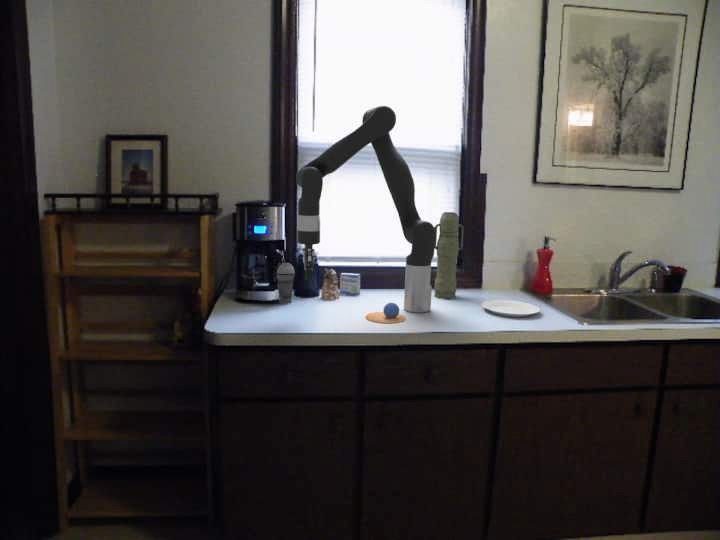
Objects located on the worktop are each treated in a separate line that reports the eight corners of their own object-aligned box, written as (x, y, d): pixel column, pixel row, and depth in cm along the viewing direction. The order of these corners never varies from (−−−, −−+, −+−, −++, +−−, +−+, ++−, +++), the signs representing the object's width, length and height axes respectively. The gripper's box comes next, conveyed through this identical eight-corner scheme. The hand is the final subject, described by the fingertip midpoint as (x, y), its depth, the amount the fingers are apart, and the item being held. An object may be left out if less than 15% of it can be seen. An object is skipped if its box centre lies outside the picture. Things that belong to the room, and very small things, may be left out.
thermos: (428, 294, 215) (432, 211, 208) (455, 294, 216) (460, 212, 210) (433, 299, 206) (438, 213, 200) (461, 299, 207) (467, 213, 201)
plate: (471, 311, 189) (471, 306, 189) (498, 302, 204) (498, 297, 204) (523, 323, 175) (524, 317, 175) (548, 313, 190) (549, 307, 190)
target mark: (400, 312, 184) (400, 311, 184) (410, 323, 171) (410, 322, 171) (362, 312, 182) (362, 312, 182) (369, 324, 168) (369, 323, 168)
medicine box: (339, 294, 209) (339, 274, 208) (341, 292, 214) (342, 272, 212) (358, 296, 208) (358, 275, 207) (360, 293, 213) (360, 273, 211)
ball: (399, 303, 178) (385, 299, 177) (403, 307, 173) (388, 302, 172) (394, 318, 179) (379, 313, 178) (397, 322, 174) (382, 317, 173)
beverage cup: (291, 305, 190) (291, 252, 186) (272, 304, 191) (272, 251, 187) (297, 301, 197) (297, 250, 193) (279, 299, 198) (279, 249, 194)
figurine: (333, 301, 198) (333, 271, 196) (317, 298, 201) (318, 269, 199) (342, 297, 204) (343, 268, 202) (327, 295, 207) (328, 266, 205)
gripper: (321, 231, 160) (321, 284, 164) (318, 227, 173) (317, 276, 176) (298, 231, 159) (297, 284, 162) (296, 226, 172) (296, 276, 175)
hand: (308, 280), depth 169 cm, fingers closed
